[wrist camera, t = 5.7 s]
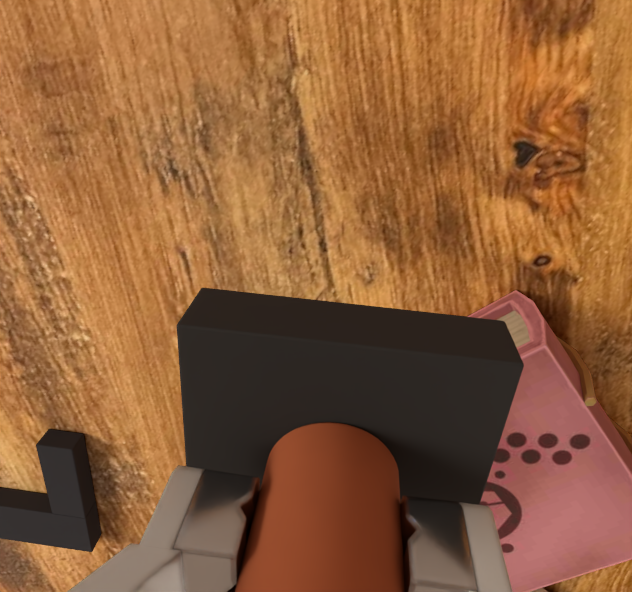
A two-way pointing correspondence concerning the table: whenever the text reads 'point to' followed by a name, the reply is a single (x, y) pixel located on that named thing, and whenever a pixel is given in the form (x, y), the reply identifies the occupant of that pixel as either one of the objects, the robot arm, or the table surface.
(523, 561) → the book
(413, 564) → the robot arm
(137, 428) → the table surface
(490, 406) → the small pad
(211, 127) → the table surface
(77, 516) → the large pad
